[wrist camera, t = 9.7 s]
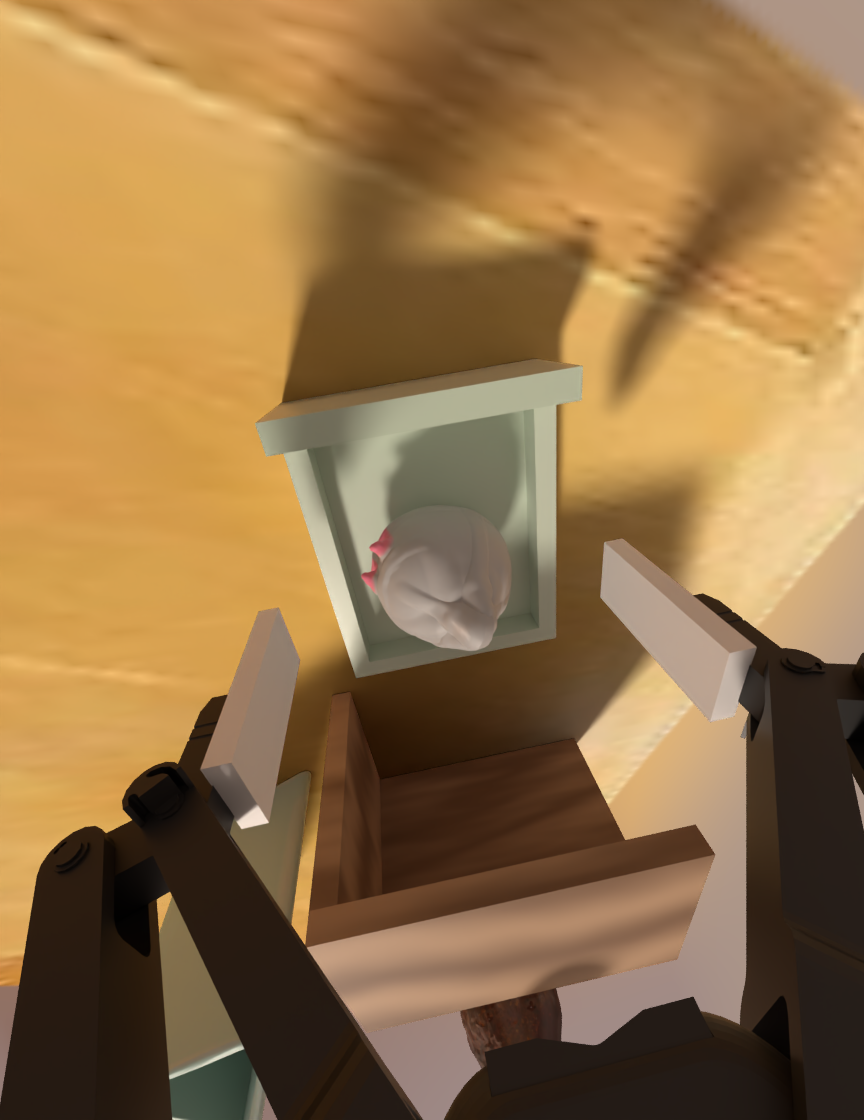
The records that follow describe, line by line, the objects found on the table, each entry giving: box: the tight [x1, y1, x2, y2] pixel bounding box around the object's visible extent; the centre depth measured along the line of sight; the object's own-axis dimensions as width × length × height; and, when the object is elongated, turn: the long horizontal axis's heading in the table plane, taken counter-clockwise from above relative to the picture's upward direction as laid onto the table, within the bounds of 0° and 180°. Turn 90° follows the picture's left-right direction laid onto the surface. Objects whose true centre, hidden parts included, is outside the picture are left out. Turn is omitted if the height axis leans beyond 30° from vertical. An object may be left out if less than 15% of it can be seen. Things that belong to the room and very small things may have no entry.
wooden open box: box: [305, 692, 715, 1033], centre depth 25 cm, size 11×17×13 cm, turn 98°
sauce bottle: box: [461, 988, 562, 1068], centre depth 27 cm, size 6×6×20 cm
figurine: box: [361, 505, 512, 651], centre depth 19 cm, size 6×7×8 cm
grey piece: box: [159, 771, 311, 1120], centre depth 25 cm, size 16×8×20 cm, turn 164°
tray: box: [255, 359, 583, 678], centre depth 21 cm, size 15×12×5 cm
